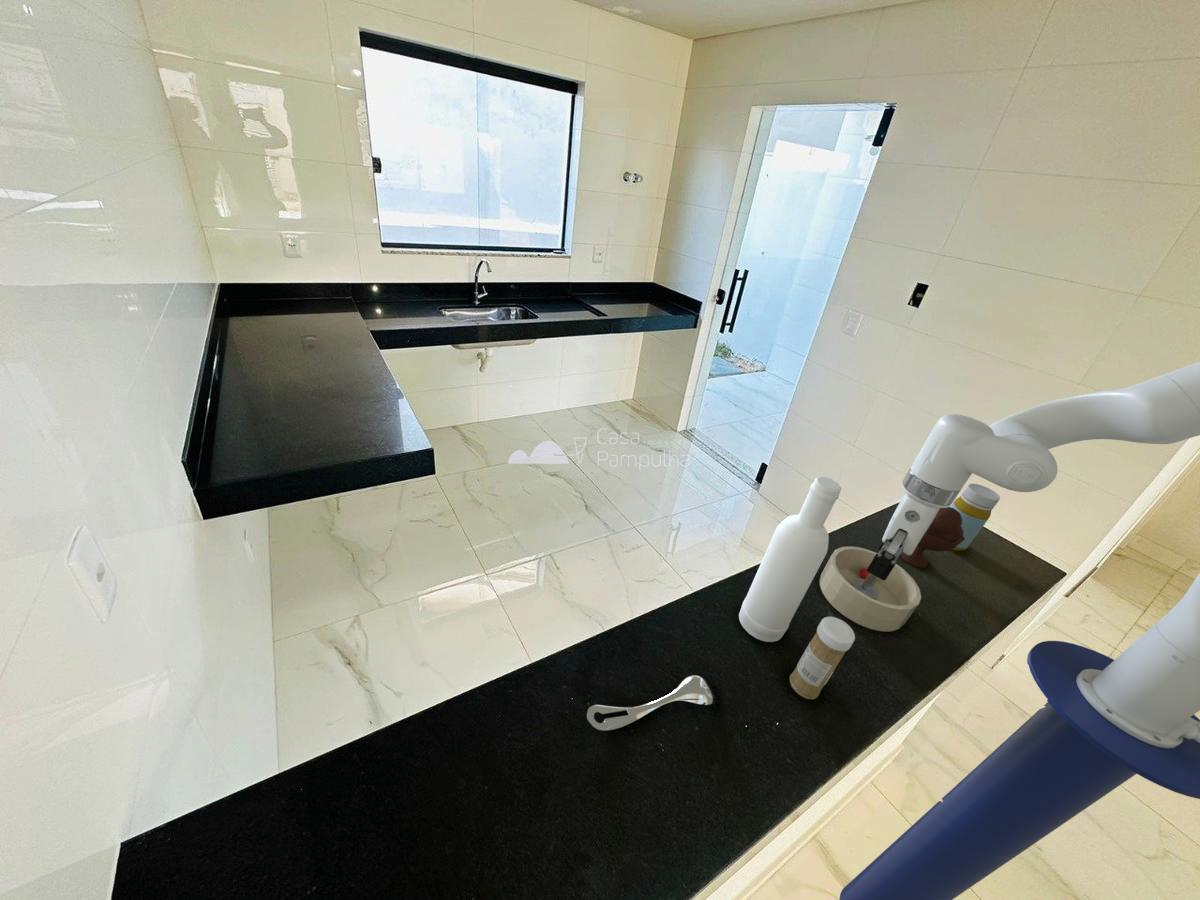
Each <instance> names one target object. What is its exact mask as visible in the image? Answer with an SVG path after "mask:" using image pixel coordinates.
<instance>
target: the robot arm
mask: <svg viewBox="0 0 1200 900" xmlns="http://www.w3.org/2000/svg"><path fill="white" fill-rule="evenodd" d="M1199 436H1200V361H1197V362H1194V363H1191V364H1188V365H1186V366H1182V367H1180V368H1178V369H1175V370H1172V371H1169V372H1167V373H1164V374H1160V375H1158V376H1155V377H1153V378H1149V379H1146V380H1144V381H1141V382H1138V383H1135V384H1133V385H1132V384H1131V385H1129V386H1125V387H1122V388H1114V389H1108V390H1101V391H1095V392H1091V393H1090V392H1089V393H1085V394H1080V395H1073V396H1067V397H1062V398H1058V399H1054V400H1051V401H1046V402H1043V403H1040V404H1038V405H1034V406H1032V407H1029V408H1026V409H1023V410H1021V411H1017V412H1015V413H1013V414H1011V415H1007V416H1006V417H1003V418H1001V419H999V420H997V421H994V422H992V423H991V424H989V425H987V423H985V422H982V421H980V420H978V419H976V418H973V417H970V416H967V415H963V414H957V413H949V414H944V415H943V416H940V418H938V420H937V421H936V423H935V425H934V426H933V428H932V429H931V432H930V433H929V435H928V437H927V439H926V440H925V442H924V443H923V445H922V447H921V449H920V450H919V452H918V453H917V456H916V457H915V459H914V461H913V462H912V464H911V466H910V468H909V469H908V471H907V473H906V474H905V476H904V478H903V480H902V481H901V483H900V487H901V489H902V491H903V492H904V494H903V495H902V498H901V500H900V501H899V503H898V505H897V507H896V509H895V511H894V512H893V514H892V516H891V518H890V520H889V522H888V524H887V527H886V529H885V531H884V534H883V536H882V538H881V541H882V543H881V544H880V546H879V548H878V552H877V553H878V554H876V555H875V557H874V558H873V560H872V562H871V563H870V565H869V567H868V568H867V571H868V572H869V573H871V574H873V575H874V576H876V577H878V578H880V579H882V580H886V579H887V577H888V576H889V574H890V572H891V571H892V569H893V568H894V566H895V565H896V564H897V563H896V562H897V560H898V558H899V557H900V556H901V555H900V554H901V552H902V551H903V553H906V554H907V555H912V553H913V551H914V550H915V548H916V547H917V545H918V543H919V542H920V540H921V539H922V537H923V536H924V534H925V532H926V531H927V529H928V528H929V526H930V525H931V523H932V521H933V520H934V518H935V516H936V515H937V513H938V511H939V509H940V508H947V507H951V506H952V504H953V503H954V501H955V500H956V499H957V498H958V496H959V494H960V492H961V491H962V489H963V488H964V486H965V485H966V483H967V482H968V480H969V479H970V477H971V476H972V474H973V475H976V476H978V477H980V478H981V479H984V480H986V481H988V482H990V483H992V484H994V485H996V486H998V487H1000V488H1003V489H1006V490H1009V491H1012V492H1013V491H1014V492H1018V493H1031V492H1037V491H1041V490H1043V489H1045V488H1047V487H1049V486H1050V485H1051V484H1053V482H1054V481H1055V479H1056V478H1057V475H1058V463H1057V461H1056V459H1055V457H1054V455H1053V454H1052V452H1051V451H1050V450H1052V449H1055V448H1057V447H1060V446H1064V445H1069V444H1072V443H1076V442H1083V441H1091V440H1112V441H1113V440H1115V441H1122V442H1123V441H1124V442H1130V443H1137V444H1147V445H1170V444H1175V443H1179V442H1182V441H1185V440H1188V439H1193V438H1195V437H1199ZM889 542H892V543H889ZM887 546H889V548H888V549H887V551H886V550H885V549H886V547H887ZM1076 682H1077V685H1078V688H1079V690H1080V691H1081V693H1082V695H1083V696H1084V697H1085V699H1086V700H1087V701H1088V702H1089V703H1090V704H1091V706H1092V707H1093V708H1094V709H1096V710H1097V711H1098V712H1099V713H1100V714H1101V715H1102V716H1103V717H1105V718H1106V719H1107V720H1108V721H1110V722H1111V723H1112V724H1114V725H1115V726H1117V727H1118V728H1119V729H1121V730H1123V731H1124V732H1126V733H1128V734H1129V735H1131V736H1133V737H1135V738H1137V739H1139V740H1141V741H1143V742H1146V743H1148V744H1151V745H1154V746H1157V747H1162V748H1174V747H1176V746H1178V745H1179V744H1180V743H1182V742H1183V737H1185V738H1186V739H1193V740H1195V741H1197V742H1199V743H1200V722H1199V721H1196V720H1194V719H1193V718H1191V716H1193V715H1196V714H1197V713H1199V712H1200V572H1199V573H1198V574H1197V576H1196V577H1195V579H1194V580H1193V582H1192V583H1191V585H1190V586H1189V588H1188V590H1187V591H1186V593H1185V594H1184V595H1183V596H1182V598H1180V600H1179V601H1178V602H1177V603H1176V604H1175V606H1173V607H1172V608H1171V609H1169V611H1168V612H1167V613H1166V614H1165V615H1164V616H1162V617H1161V618H1160V619H1159V620H1158V621H1157V622H1155V624H1153V626H1151V627H1150V628H1149V629H1148V630H1147V631H1145V632H1144V633H1143V634H1141V636H1140V637H1139V638H1137V640H1136V641H1134V642H1133V643H1132V644H1131V645H1130V646H1129V647H1128V648H1126V649H1125V650H1124V651H1123V652H1121V654H1120V655H1119V656H1117V657H1116V658H1115V659H1114V661H1113V662H1112V663H1111V664H1109V665H1108V666H1107V667H1106V668H1105V669H1104V670H1103V671H1101V670H1096V669H1085V670H1083V671H1081V672H1080V673H1079V674H1078V676H1077V677H1076Z"/></svg>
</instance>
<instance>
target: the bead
mask: <svg viewBox="0 0 1200 900" xmlns="http://www.w3.org/2000/svg"><path fill="white" fill-rule="evenodd" d="M868 574H869V572H868V571H867V569H866V568H864V569H862V570H860V572H859V576H860V578H861V579H864V580H865V579H866V578H867V576H868Z"/></svg>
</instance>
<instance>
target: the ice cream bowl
mask: <svg viewBox="0 0 1200 900" xmlns="http://www.w3.org/2000/svg"><path fill="white" fill-rule="evenodd" d="M961 525H962V517H961V515H960V512H958V511H957V510H955V509H954V508H952V507H951V506H950V507H947V508H940V509H939V511H938V513H937V515H936V516H935V518H934V520H933V521H932V523H931V525H930V526H929V528H928V529H927V531H926V532H925V534H924V536H923V537H922V539H921V540H920V542H919V543H918V545H917V547H916V548H915V550H914V551H913V553H912V555H907V554H906V553H903V551H902V552H901V554H900V555H899V556H900V558H901V559H903V560H904V561H905V562H906V563H907V564H910V565H911V566H913V567H916V568H926V567H927V566H928V560H927V558H926V557H925V556H924V555H923V553H924V551H925V550H926V551H934V552H949V551H951V550H952V549H953V548H955V547H956V546H957V545H959V544H960V543H961V542H962V541H963V540H965V538H964V536H963V529H962V527H961Z"/></svg>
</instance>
